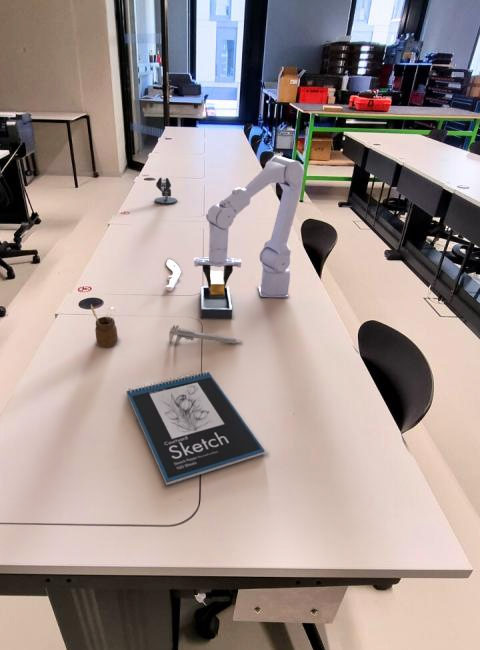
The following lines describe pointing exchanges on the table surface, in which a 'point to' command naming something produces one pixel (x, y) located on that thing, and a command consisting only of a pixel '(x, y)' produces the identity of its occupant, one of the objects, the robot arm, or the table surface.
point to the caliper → (197, 336)
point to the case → (215, 305)
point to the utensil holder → (105, 330)
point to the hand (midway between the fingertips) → (216, 287)
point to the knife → (174, 277)
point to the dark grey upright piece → (165, 192)
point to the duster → (216, 285)
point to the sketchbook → (192, 427)
